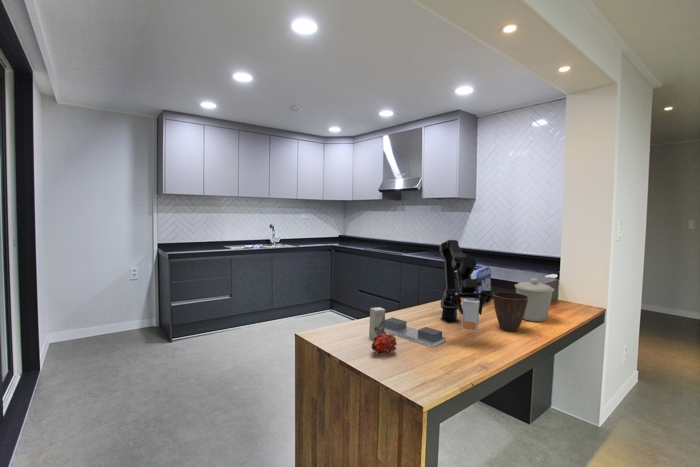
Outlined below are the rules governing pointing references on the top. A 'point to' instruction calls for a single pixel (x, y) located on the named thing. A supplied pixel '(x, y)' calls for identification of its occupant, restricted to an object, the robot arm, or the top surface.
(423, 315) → the top surface
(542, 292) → the canister
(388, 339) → the dragon fruit
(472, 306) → the skincare box
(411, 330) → the rail plate
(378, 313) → the box
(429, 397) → the top surface
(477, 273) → the lunch box
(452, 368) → the top surface
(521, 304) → the plant pot
